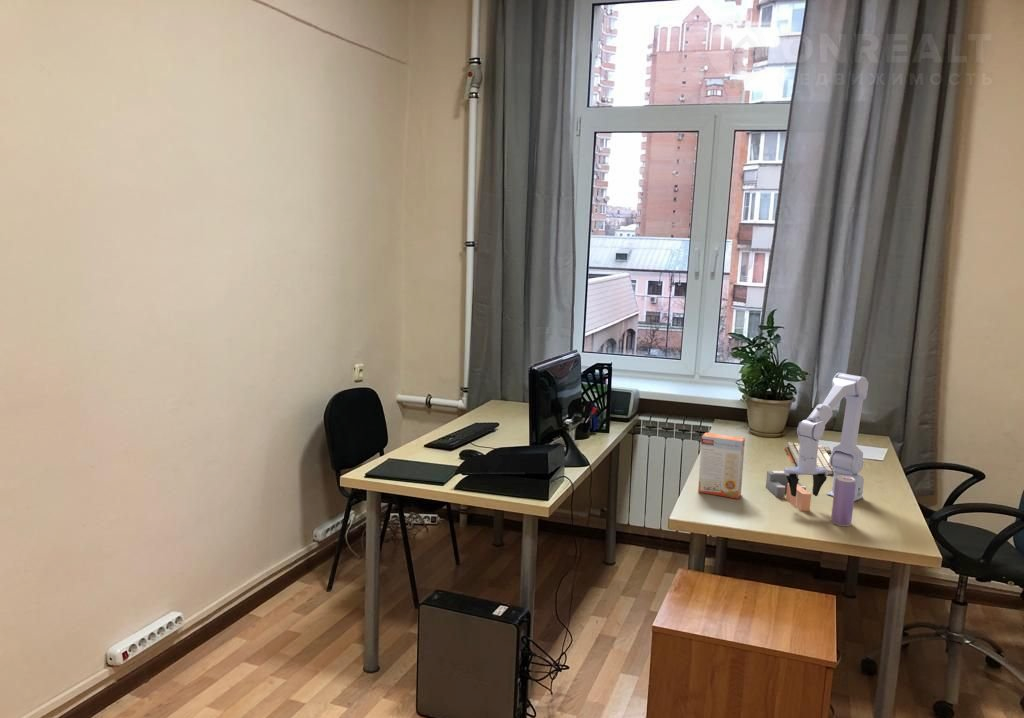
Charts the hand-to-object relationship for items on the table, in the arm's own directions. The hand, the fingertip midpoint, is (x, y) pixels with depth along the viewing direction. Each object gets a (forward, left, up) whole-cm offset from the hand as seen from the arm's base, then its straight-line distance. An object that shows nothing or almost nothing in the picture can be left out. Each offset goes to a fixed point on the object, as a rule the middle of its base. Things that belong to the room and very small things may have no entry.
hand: (804, 495), depth 250 cm
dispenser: (+12, -10, -5) cm, 16 cm away
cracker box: (+26, +10, -5) cm, 28 cm away
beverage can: (-14, +2, -5) cm, 15 cm away
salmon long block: (+3, -2, -5) cm, 6 cm away
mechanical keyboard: (+25, -55, -6) cm, 61 cm away
